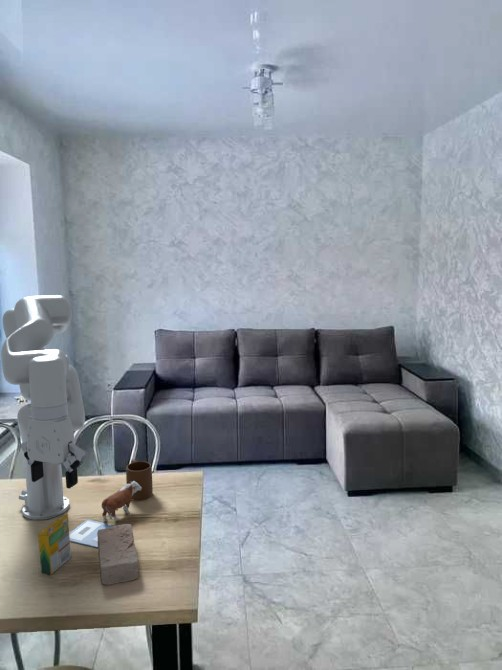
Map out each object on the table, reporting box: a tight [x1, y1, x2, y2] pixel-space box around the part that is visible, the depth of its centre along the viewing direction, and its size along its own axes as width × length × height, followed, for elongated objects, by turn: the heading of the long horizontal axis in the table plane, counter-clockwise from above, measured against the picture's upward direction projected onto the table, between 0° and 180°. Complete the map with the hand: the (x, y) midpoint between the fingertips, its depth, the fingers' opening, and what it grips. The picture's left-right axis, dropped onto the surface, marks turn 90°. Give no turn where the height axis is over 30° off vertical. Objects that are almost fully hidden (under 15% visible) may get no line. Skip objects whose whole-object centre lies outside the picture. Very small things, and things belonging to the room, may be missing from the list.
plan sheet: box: [69, 519, 116, 549], centre depth 132 cm, size 14×10×1 cm
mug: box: [125, 458, 154, 502], centre depth 155 cm, size 12×8×9 cm, turn 26°
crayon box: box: [37, 512, 72, 575], centre depth 119 cm, size 7×3×12 cm, turn 162°
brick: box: [97, 523, 140, 586], centre depth 120 cm, size 17×8×5 cm, turn 19°
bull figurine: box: [101, 481, 142, 523], centre depth 142 cm, size 4×13×8 cm, turn 146°
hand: (54, 482), depth 117 cm, fingers open, 9 cm apart
